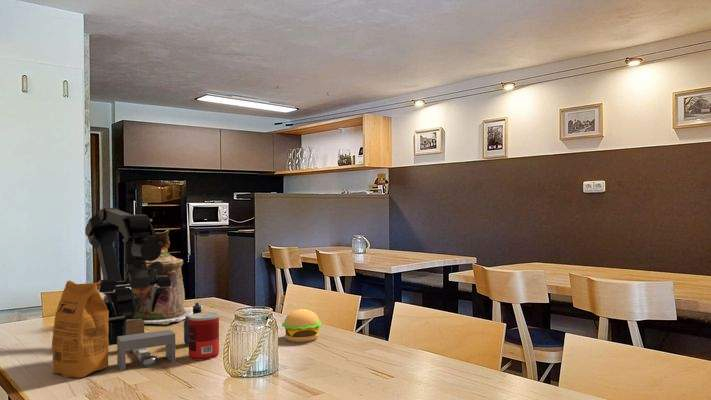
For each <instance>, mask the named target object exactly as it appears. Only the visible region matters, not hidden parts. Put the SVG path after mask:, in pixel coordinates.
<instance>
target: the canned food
mask: <svg viewBox="0 0 711 400" xmlns="http://www.w3.org/2000/svg"><path fill="white" fill-rule="evenodd" d="M188 328H189V345H188V357H189V359H191V360H194V361H195V360H196V361H204V360H211V359H214V358H216V357H218V356H219V352H220V316H219V313H218V312H214V311H213V312H211V311H205V312H203V311H202V312H201V313H196V314H192V315H190V316H189V322H188Z"/></svg>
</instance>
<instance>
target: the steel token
mask: <svg viewBox="0 0 711 400" xmlns="http://www.w3.org/2000/svg"><path fill="white" fill-rule="evenodd" d="M157 365H158V356H157V355H152V354H150V356H144V357H141V358H140V360H139V367H140V368H153V367H156V366H157Z"/></svg>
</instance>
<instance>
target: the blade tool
mask: <svg viewBox="0 0 711 400" xmlns="http://www.w3.org/2000/svg"><path fill="white" fill-rule="evenodd" d="M140 333H145V324H144V321H143V320H142V319H136V320H127V321H126V335H132V334H140ZM128 352H129V353H130V352H131V353H133V354H134V355H135V356H136V357H137V358H138V360H139V361H140V358H141V357H144V356H150V355H151V353H150V351H149V350H148V349H147V348H142V349H136V350H129V351H128Z"/></svg>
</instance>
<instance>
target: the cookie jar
mask: <svg viewBox="0 0 711 400" xmlns="http://www.w3.org/2000/svg"><path fill="white" fill-rule="evenodd" d="M169 232H170V229H167V230H165V231H164V232H155V238H154V241H156V242H158V243H159V245H160V247H161V254H160V256H159V257H158V258H157V259H156V260H154V261H146V268H147V270H149V269H156V270H157V276H158V275H167V276H169V277H170V278H171V286H169V287H166V290H163V291H162V292H161V294H160V295H159V298H158V300H157V303H156V306H155V309H154V311H153V312H151V294H152V286H154V285H149V287H146V288H144V287H140V288H136V289H133V288H131V287H130V289H131V291H132V296H133V298H134V301H135V304H136V307H135V313H134V318H133V319H128V320H136V319H142V320H143V321H144V325H162V326H163V325H164V326H167V325H169V324H170V323H174V322H176V323H177V322H179V323H180V322H182V321H184V320H185V319H186V316H188V315H192V314H193V306H191V307H190V306H189V307H184V304H185V299H186V297H185V296H186V295H185V287H184V285H185V284H184V281H183V274H182V266H183V264H184V259H182V258H177V257H175V256H173V255H171V254H170V252H168V251H169V248H170V245H171V242H170V237H169V234H170V233H169ZM200 306H201V310H202V309H203V305H200Z"/></svg>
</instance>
